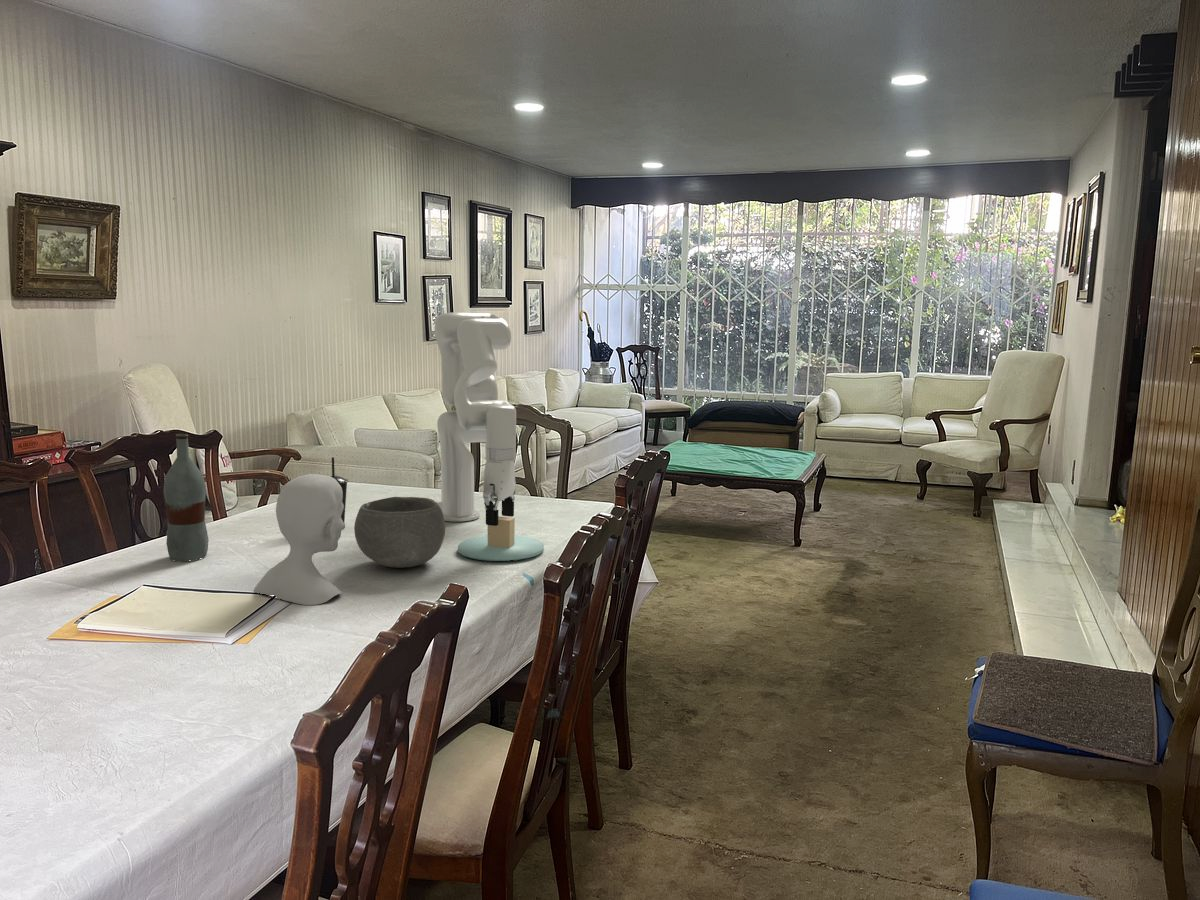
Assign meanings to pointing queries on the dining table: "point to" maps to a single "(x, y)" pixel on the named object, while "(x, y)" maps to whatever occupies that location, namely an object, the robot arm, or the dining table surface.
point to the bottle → (185, 506)
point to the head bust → (305, 539)
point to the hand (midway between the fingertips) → (500, 520)
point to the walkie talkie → (343, 485)
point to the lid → (501, 544)
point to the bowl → (400, 530)
